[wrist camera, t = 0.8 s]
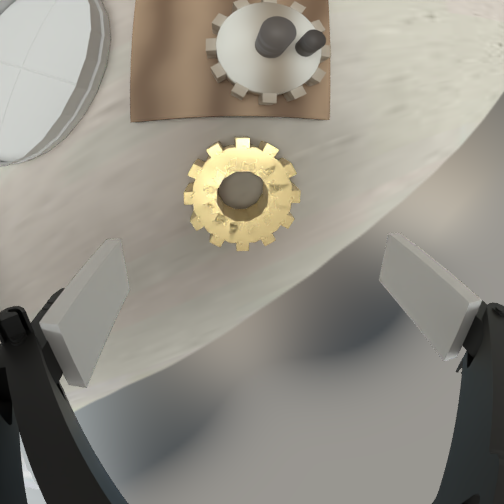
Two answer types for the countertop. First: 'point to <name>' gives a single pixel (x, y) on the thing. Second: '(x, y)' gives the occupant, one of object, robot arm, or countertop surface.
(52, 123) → the dish
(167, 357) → the countertop surface
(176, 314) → the countertop surface
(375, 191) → the countertop surface
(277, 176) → the brass gear
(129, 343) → the countertop surface
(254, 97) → the gear board
